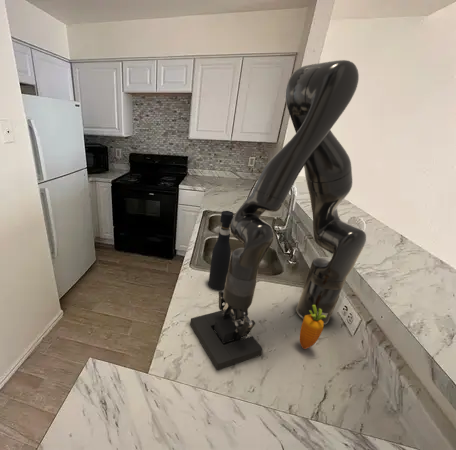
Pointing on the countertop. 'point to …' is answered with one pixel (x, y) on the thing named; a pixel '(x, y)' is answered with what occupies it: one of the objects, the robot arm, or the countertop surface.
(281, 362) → the countertop surface
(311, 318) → the carrot
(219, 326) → the connector pad
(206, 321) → the base mat
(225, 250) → the wine bottle
